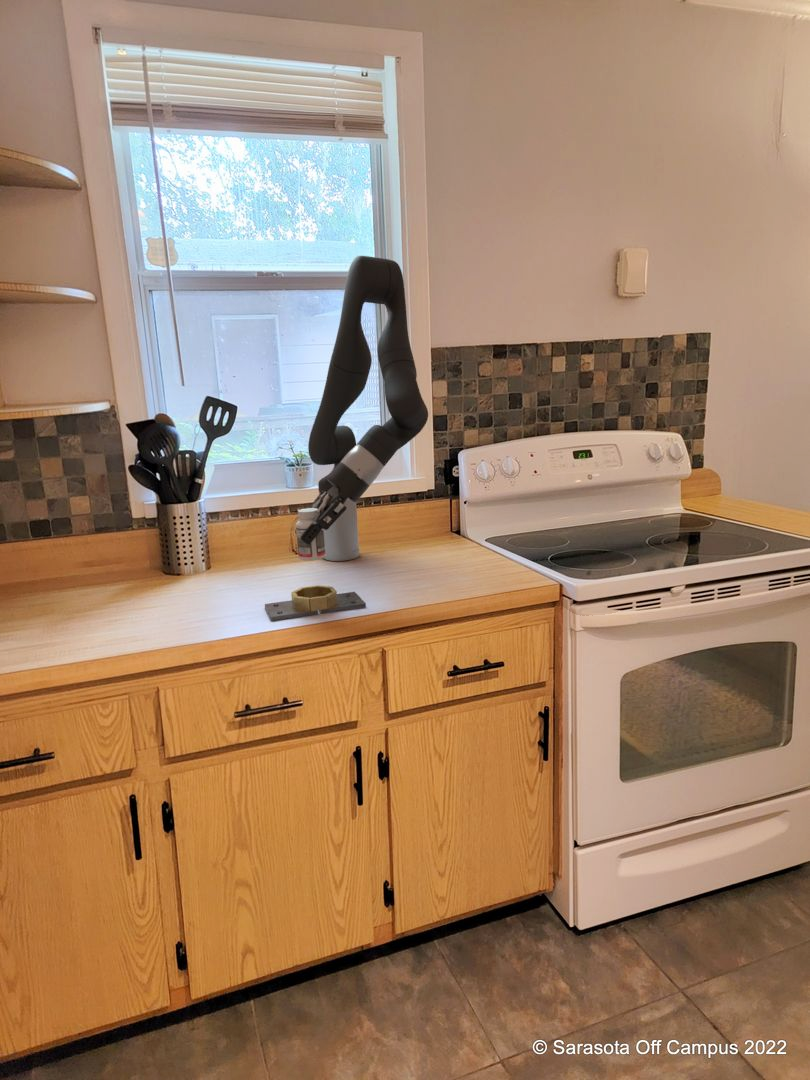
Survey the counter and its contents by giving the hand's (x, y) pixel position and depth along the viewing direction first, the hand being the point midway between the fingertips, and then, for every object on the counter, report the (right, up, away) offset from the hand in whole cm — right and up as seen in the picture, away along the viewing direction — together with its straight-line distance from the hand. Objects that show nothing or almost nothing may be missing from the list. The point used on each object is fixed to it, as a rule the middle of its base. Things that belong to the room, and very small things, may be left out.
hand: (301, 538), depth 143 cm
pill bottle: (+2, -4, +2) cm, 5 cm away
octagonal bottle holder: (+2, -14, +4) cm, 15 cm away
